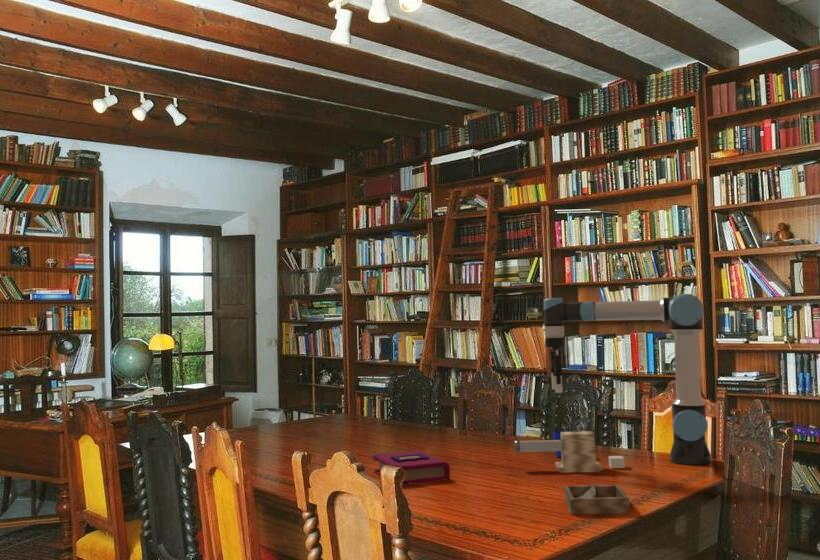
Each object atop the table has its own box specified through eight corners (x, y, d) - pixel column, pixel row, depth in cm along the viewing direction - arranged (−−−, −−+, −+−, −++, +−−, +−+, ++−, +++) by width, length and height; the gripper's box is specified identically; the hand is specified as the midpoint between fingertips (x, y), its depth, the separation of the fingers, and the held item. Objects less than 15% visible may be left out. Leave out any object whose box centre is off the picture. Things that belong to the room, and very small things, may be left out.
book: (423, 467, 298) (422, 448, 299) (450, 480, 272) (449, 459, 272) (373, 473, 291) (372, 453, 291) (396, 487, 265) (395, 465, 265)
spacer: (608, 456, 285) (608, 466, 285) (610, 458, 280) (611, 469, 280) (621, 455, 285) (622, 466, 284) (624, 458, 280) (624, 468, 280)
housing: (597, 464, 289) (595, 429, 290) (603, 471, 275) (601, 435, 276) (555, 465, 291) (554, 430, 291) (559, 472, 277) (557, 436, 277)
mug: (584, 458, 302) (583, 433, 302) (554, 458, 304) (552, 433, 304) (583, 454, 310) (582, 430, 310) (554, 454, 312) (553, 430, 312)
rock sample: (566, 488, 235) (585, 472, 232) (584, 502, 236) (604, 486, 233) (567, 510, 226) (587, 494, 222) (586, 524, 227) (606, 508, 223)
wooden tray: (619, 499, 234) (618, 485, 234) (629, 513, 217) (629, 498, 217) (564, 500, 236) (564, 485, 236) (570, 514, 219) (570, 499, 219)
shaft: (588, 449, 285) (587, 438, 285) (589, 451, 281) (589, 440, 281) (514, 451, 288) (514, 439, 288) (515, 453, 283) (514, 441, 283)
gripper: (542, 336, 307) (544, 388, 306) (547, 338, 282) (550, 394, 281) (560, 335, 306) (563, 387, 305) (567, 337, 281) (570, 393, 280)
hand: (557, 391), depth 293 cm, fingers open, 13 cm apart
